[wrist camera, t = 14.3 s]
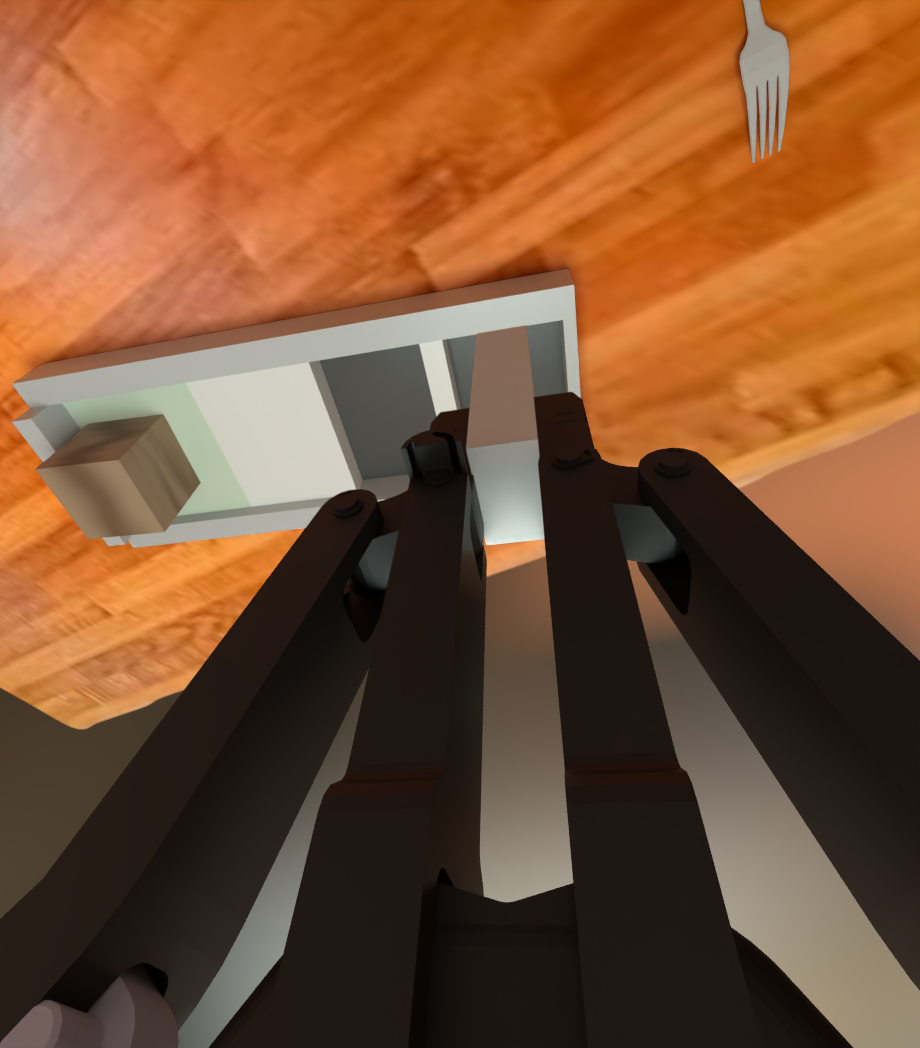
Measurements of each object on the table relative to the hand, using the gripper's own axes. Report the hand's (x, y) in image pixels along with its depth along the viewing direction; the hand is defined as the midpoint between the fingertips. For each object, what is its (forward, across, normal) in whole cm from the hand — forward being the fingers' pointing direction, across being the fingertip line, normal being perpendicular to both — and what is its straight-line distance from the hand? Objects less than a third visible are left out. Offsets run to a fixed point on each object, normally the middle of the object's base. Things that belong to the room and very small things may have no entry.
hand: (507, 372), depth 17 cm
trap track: (+32, -20, -16) cm, 42 cm away
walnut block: (+29, -38, -16) cm, 51 cm away
